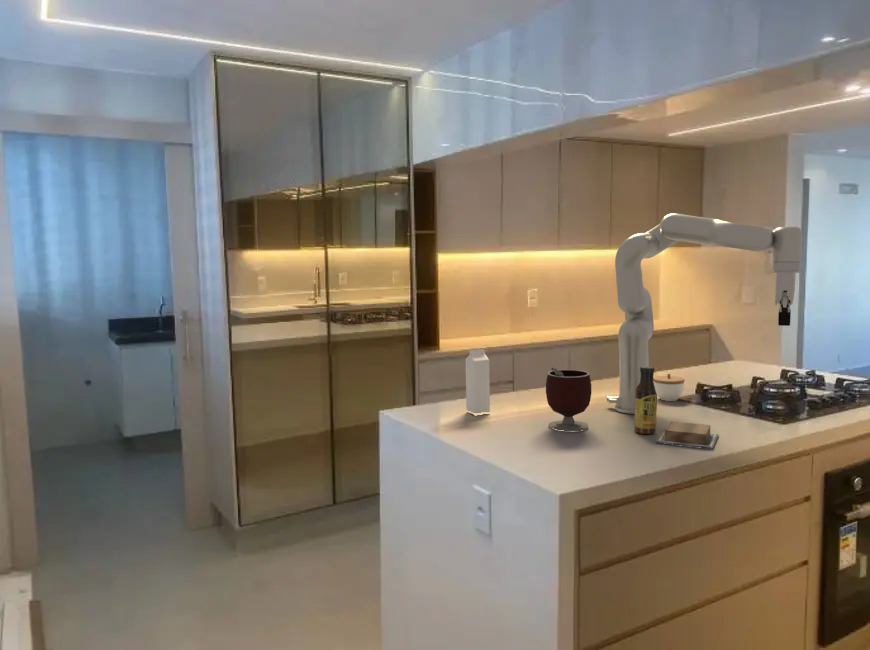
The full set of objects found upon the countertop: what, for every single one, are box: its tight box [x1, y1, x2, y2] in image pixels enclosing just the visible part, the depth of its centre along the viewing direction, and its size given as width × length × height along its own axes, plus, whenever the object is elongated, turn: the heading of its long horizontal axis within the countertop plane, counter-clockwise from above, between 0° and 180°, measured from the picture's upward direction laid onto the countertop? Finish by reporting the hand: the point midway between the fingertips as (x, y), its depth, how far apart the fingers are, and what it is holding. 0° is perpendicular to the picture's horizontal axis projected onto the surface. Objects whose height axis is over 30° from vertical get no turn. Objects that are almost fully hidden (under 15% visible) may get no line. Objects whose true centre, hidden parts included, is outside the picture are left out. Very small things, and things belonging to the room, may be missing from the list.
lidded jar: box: [653, 373, 685, 402], centre depth 248 cm, size 11×11×9 cm
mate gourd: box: [545, 367, 592, 432], centre depth 211 cm, size 16×14×20 cm
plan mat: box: [655, 420, 719, 450], centre depth 195 cm, size 15×15×4 cm
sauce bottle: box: [633, 366, 658, 435], centre depth 203 cm, size 6×6×20 cm
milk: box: [465, 348, 491, 413], centre depth 231 cm, size 6×6×22 cm
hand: (784, 323), depth 208 cm, fingers open, 9 cm apart
